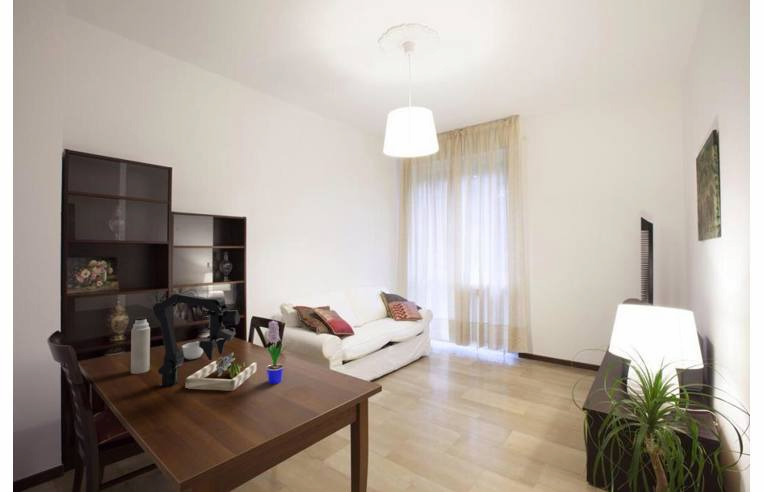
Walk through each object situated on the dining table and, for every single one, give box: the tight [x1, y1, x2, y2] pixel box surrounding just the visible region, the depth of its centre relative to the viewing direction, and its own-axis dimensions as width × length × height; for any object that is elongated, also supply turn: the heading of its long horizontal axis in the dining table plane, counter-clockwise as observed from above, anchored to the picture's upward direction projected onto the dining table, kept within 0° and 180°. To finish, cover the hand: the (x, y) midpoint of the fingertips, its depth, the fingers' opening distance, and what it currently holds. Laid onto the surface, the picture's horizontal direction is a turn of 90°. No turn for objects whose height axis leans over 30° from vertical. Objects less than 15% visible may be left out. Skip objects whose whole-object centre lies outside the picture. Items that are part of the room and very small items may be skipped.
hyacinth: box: [265, 320, 286, 385], centre depth 167 cm, size 9×10×30 cm
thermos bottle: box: [130, 316, 151, 375], centre depth 177 cm, size 8×8×28 cm
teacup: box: [181, 340, 204, 360], centre depth 201 cm, size 14×11×8 cm
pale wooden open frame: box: [184, 360, 258, 392], centre depth 169 cm, size 24×23×4 cm
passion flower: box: [215, 352, 246, 379], centre depth 174 cm, size 13×12×14 cm
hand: (215, 357), depth 162 cm, fingers open, 9 cm apart
